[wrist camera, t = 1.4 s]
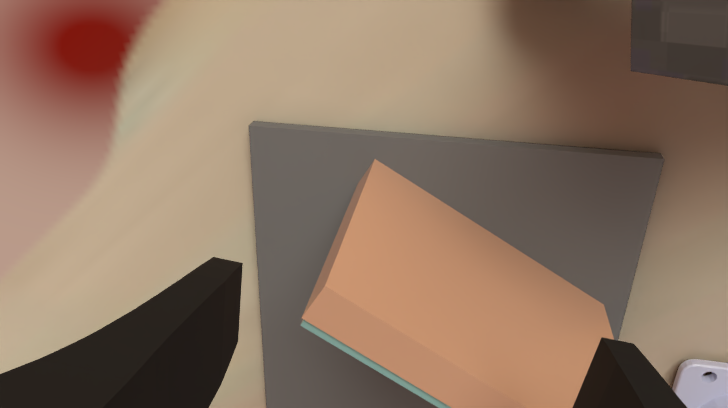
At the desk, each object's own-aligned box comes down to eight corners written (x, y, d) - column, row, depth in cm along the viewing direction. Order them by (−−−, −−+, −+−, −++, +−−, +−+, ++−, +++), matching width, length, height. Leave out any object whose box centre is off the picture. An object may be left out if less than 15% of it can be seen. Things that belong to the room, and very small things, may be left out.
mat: (660, 153, 21) (664, 159, 20) (584, 455, 27) (586, 464, 27) (253, 121, 23) (249, 125, 22) (270, 409, 29) (267, 417, 29)
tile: (375, 158, 22) (324, 285, 15) (603, 304, 23) (657, 487, 16) (353, 190, 23) (295, 325, 16) (576, 330, 24) (616, 516, 17)
